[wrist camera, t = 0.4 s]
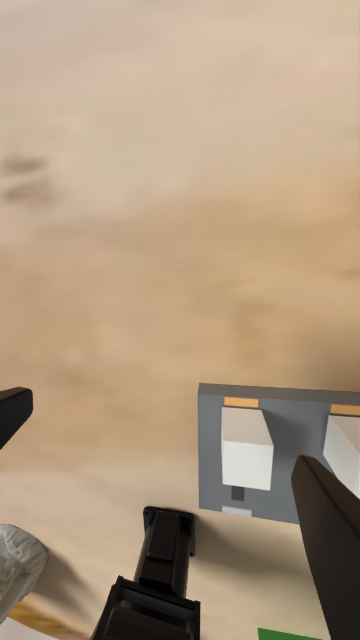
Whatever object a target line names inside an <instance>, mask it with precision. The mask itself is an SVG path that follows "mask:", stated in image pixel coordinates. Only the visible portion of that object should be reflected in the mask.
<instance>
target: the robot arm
mask: <svg viewBox="0 0 360 640" xmlns="http://www.w3.org/2000/svg"><path fill="white" fill-rule="evenodd" d="M32 412H33V393H32V390H31V389H28V388H24V387H16V388H12V389H8V390H4V391H0V450H1V449H2V448H3V446H4V445H5V444H6V443H7V442H8V441H9V440H10V438H11V437H12V436H13V435H14V434H15V433H16V432H17V431H18V429H19V428H20V427H21V426H22V425H23V424H24V423H25V421H26V420H27V419H28V418H29V417H30V415H31V414H32ZM291 486H292V490H293V495H294V500H295V505H296V509H297V514H298V519H299V524H300V528H301V533H302V538H303V542H304V547H305V551H306V555H307V558H308V562H309V566H310V569H311V573H312V576H313V579H314V583H315V586H316V590H317V593H318V596H319V600H320V603H321V606H322V610H323V613H324V617H325V620H326V623H327V627H328V630H329V634H330V637H331V640H360V499H359V498H358V497H357V496H356V495H355V494H354V493H352V492H351V491H350V490H349V489H348V488H347V487H346V486H345V485H344V484H343V483H342V482H341V481H340V480H339V479H337V478H336V477H335V476H334V475H333V474H332V473H331V472H330V471H329V470H328V469H327V468H326V467H325V466H324V465H322V464H321V463H320V462H319V461H318V460H317V459H316V458H314V457H311V456H307V455H303V454H300V455H298V457H297V459H296V462H295V465H294V468H293V471H292V474H291ZM143 517H144V529H145V538H144V542H143V546H142V550H141V553H140V557H139V561H138V565H137V568H136V572H135V576H134V580H133V581H130V580H127V579H124V577H123V576H120V575H119V576H118V578H117V581H116V584H114V585H112V587H111V590H110V593H109V596H108V599H107V602H106V605H105V608H104V610H103V613H102V615H101V617H100V619H99V621H98V623H97V626H96V628H95V630H94V632H93V634H92V636H91V638H90V640H200V602H199V601H196V600H195V601H192V600H189V599H186V590H187V579H188V568H189V557H193V556H194V555H195V523H194V516H193V515H192V514H187V513H181V512H175V511H169V510H163V509H157V508H151V507H145V508H144V511H143Z"/></svg>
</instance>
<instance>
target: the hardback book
mask: <svg viewBox="0 0 360 640" xmlns="http://www.w3.org/2000/svg"><path fill="white" fill-rule="evenodd" d="M258 635H259V640H321V639H315V638H310V637H305V636H299V635H294V634H288V633H283V632H278V631H272V630H267V629H261V628H258Z"/></svg>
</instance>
